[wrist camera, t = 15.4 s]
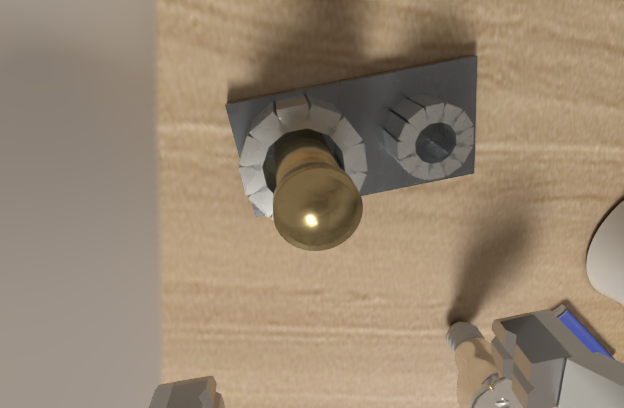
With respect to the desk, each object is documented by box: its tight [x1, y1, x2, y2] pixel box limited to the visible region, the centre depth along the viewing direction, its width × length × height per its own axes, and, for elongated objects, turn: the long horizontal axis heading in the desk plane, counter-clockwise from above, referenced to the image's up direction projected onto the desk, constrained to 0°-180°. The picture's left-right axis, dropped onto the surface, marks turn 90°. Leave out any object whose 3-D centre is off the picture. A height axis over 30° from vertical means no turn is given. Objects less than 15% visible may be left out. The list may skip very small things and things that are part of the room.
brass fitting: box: [273, 128, 363, 251], centre depth 23 cm, size 5×5×10 cm
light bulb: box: [446, 322, 523, 408], centre depth 33 cm, size 7×7×12 cm
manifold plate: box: [225, 55, 477, 220], centre depth 27 cm, size 18×9×4 cm, turn 99°
